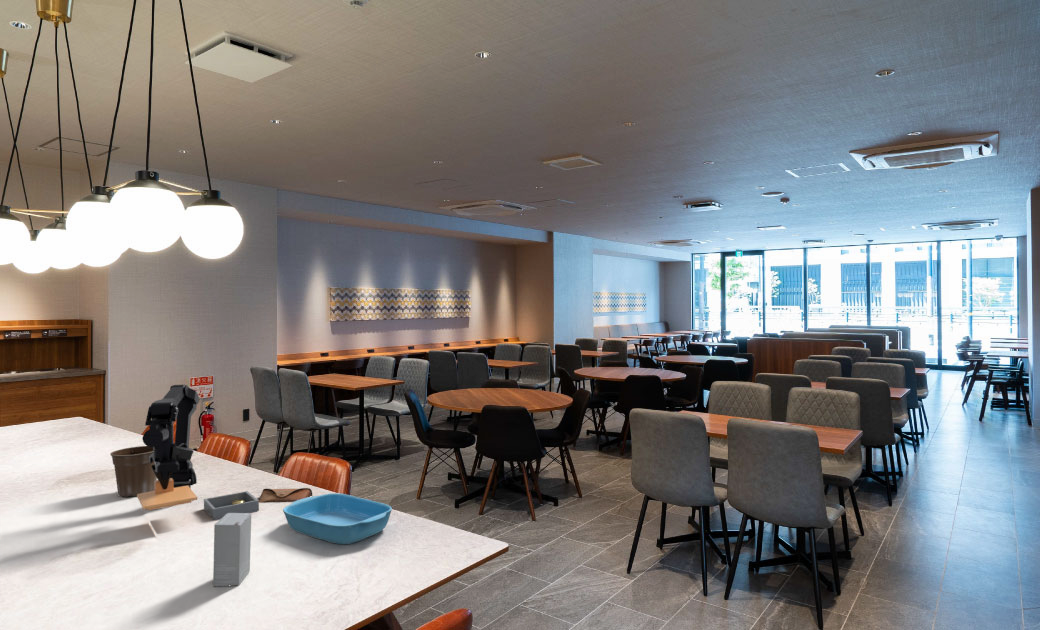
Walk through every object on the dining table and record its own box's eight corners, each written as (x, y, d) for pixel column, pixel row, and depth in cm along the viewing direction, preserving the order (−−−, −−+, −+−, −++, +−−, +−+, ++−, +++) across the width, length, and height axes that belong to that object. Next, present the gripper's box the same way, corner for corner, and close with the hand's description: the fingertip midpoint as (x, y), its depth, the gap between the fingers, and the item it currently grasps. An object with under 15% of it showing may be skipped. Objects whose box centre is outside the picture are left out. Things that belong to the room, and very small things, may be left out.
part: (230, 505, 209) (230, 500, 209) (243, 503, 212) (243, 498, 212) (233, 508, 206) (233, 503, 206) (246, 506, 208) (245, 501, 208)
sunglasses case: (253, 504, 211) (257, 485, 215) (260, 509, 217) (263, 490, 221) (306, 503, 213) (308, 484, 216) (311, 507, 219) (313, 489, 222)
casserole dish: (269, 529, 188) (269, 506, 188) (328, 509, 207) (328, 488, 207) (348, 555, 168) (348, 529, 168) (406, 530, 186) (405, 507, 186)
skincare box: (225, 573, 156) (224, 512, 156) (253, 572, 157) (252, 511, 157) (211, 588, 148) (210, 523, 147) (241, 586, 148) (240, 522, 148)
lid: (137, 499, 194) (136, 483, 194) (188, 490, 203) (187, 475, 203) (143, 512, 183) (143, 495, 182) (197, 502, 192) (197, 486, 192)
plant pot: (100, 496, 223) (100, 453, 223) (142, 484, 238) (141, 444, 238) (130, 501, 217) (130, 456, 217) (171, 489, 232) (171, 447, 232)
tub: (203, 510, 206) (203, 499, 206) (247, 502, 214) (247, 491, 214) (213, 521, 195) (213, 509, 195) (258, 512, 204) (258, 500, 204)
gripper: (196, 441, 194) (197, 489, 195) (185, 432, 209) (186, 477, 209) (157, 446, 188) (157, 496, 188) (148, 437, 202) (148, 483, 202)
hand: (164, 488), depth 197 cm, fingers closed on lid, 3 cm apart
